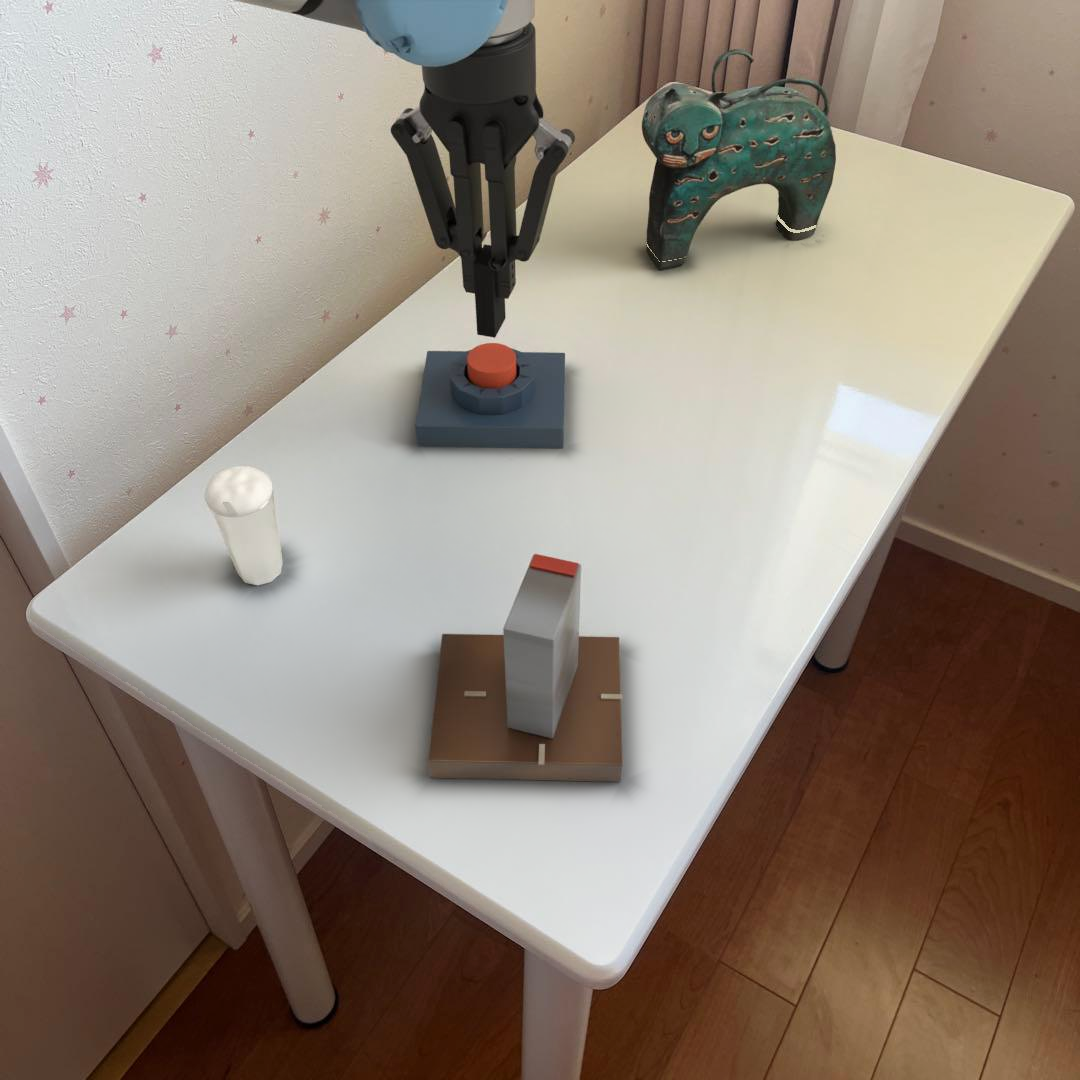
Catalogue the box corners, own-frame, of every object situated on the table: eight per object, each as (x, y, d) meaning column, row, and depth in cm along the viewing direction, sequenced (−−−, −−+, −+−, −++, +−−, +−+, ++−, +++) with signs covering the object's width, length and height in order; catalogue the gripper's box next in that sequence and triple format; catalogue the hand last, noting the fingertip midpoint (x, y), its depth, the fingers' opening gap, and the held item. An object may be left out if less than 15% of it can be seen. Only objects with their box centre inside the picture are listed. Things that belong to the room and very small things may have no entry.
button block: (417, 446, 91) (413, 408, 88) (429, 370, 97) (425, 333, 95) (563, 448, 90) (564, 411, 87) (564, 372, 97) (565, 335, 94)
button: (466, 389, 90) (465, 372, 89) (469, 359, 93) (468, 342, 91) (515, 390, 90) (514, 373, 89) (517, 359, 93) (517, 342, 91)
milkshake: (222, 602, 79) (190, 503, 72) (234, 547, 83) (204, 448, 76) (286, 600, 79) (260, 501, 72) (295, 545, 83) (271, 446, 76)
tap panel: (429, 779, 69) (427, 761, 68) (444, 650, 76) (441, 630, 75) (622, 783, 69) (624, 765, 67) (619, 653, 76) (620, 634, 74)
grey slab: (552, 739, 69) (553, 637, 61) (507, 727, 69) (502, 625, 62) (578, 665, 73) (581, 561, 65) (534, 654, 73) (533, 550, 66)
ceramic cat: (647, 280, 107) (663, 75, 92) (622, 246, 111) (633, 44, 97) (829, 243, 111) (871, 42, 97) (798, 211, 116) (834, 14, 101)
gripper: (590, 10, 72) (582, 312, 89) (403, -10, 74) (431, 287, 92) (558, 58, 67) (557, 368, 84) (359, 34, 69) (397, 340, 87)
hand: (491, 326), depth 88 cm, fingers closed
